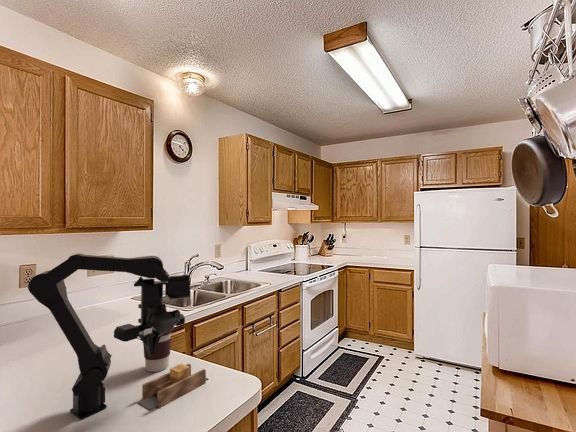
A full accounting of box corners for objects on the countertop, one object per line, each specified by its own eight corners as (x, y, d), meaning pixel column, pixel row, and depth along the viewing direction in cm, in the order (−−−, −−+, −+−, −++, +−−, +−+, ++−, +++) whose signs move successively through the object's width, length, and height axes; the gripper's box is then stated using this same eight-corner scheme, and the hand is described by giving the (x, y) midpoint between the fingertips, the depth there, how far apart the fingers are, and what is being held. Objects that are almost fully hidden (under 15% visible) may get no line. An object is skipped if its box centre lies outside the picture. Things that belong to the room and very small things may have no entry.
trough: (152, 411, 84) (152, 396, 84) (135, 402, 89) (135, 387, 89) (210, 380, 101) (210, 367, 101) (193, 373, 105) (193, 361, 105)
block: (178, 385, 93) (178, 372, 94) (170, 382, 96) (170, 368, 96) (189, 380, 97) (189, 366, 97) (181, 376, 99) (181, 363, 99)
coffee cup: (163, 358, 117) (163, 317, 117) (178, 366, 111) (178, 322, 111) (136, 368, 109) (136, 324, 109) (150, 377, 103) (150, 330, 103)
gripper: (135, 312, 79) (134, 376, 79) (196, 298, 94) (196, 351, 94) (113, 305, 86) (112, 364, 85) (173, 293, 101) (173, 343, 101)
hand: (151, 355), depth 91 cm, fingers closed
